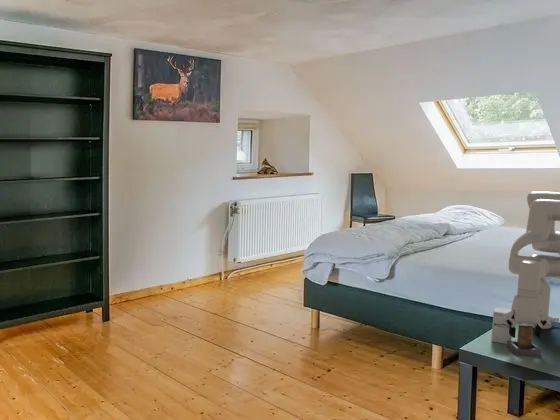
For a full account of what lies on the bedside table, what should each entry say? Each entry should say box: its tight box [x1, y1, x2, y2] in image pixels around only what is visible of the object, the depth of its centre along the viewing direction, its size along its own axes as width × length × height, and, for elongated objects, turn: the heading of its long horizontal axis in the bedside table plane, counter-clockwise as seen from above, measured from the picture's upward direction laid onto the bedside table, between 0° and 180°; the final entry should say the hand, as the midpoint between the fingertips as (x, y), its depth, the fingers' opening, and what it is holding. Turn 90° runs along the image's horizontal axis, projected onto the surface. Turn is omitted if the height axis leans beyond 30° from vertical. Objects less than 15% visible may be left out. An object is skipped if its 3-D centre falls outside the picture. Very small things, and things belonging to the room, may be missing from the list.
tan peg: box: [516, 323, 534, 348], centre depth 204 cm, size 5×5×10 cm
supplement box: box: [490, 306, 513, 345], centre depth 215 cm, size 7×7×13 cm
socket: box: [506, 340, 542, 357], centre depth 204 cm, size 9×9×2 cm
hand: (524, 336), depth 203 cm, fingers open, 9 cm apart
